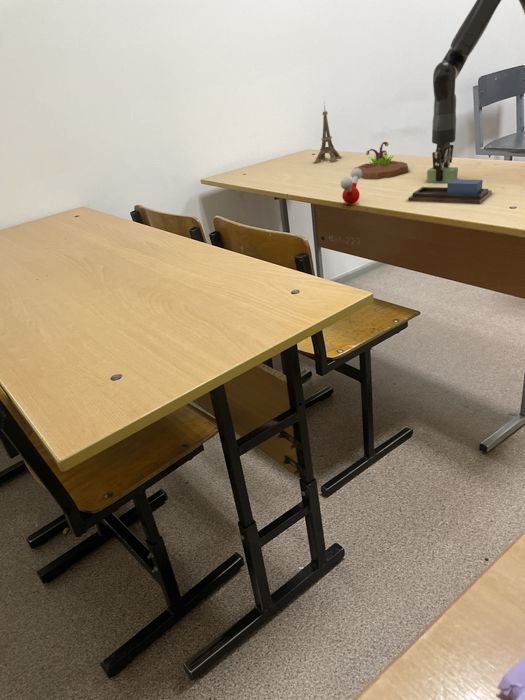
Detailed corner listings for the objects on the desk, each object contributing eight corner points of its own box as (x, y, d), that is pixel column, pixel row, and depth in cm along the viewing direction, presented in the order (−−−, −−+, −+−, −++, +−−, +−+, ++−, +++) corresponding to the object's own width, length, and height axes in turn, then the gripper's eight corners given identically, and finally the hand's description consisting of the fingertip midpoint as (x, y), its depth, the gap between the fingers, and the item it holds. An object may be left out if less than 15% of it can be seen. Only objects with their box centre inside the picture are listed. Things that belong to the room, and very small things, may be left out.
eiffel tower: (341, 157, 249) (338, 99, 236) (336, 162, 240) (332, 101, 228) (320, 158, 253) (316, 101, 240) (313, 163, 244) (309, 104, 232)
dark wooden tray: (491, 193, 164) (492, 187, 163) (479, 204, 156) (479, 197, 155) (422, 191, 177) (422, 185, 176) (408, 201, 169) (408, 194, 168)
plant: (417, 171, 203) (418, 140, 198) (372, 181, 199) (371, 149, 193) (390, 164, 220) (390, 136, 215) (348, 173, 216) (346, 144, 210)
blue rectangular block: (481, 193, 163) (482, 179, 161) (476, 197, 159) (477, 183, 157) (452, 192, 168) (453, 179, 166) (446, 196, 164) (447, 183, 163)
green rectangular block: (457, 179, 185) (457, 167, 183) (452, 182, 182) (452, 170, 180) (432, 178, 190) (432, 167, 189) (426, 182, 187) (427, 170, 185)
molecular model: (357, 210, 166) (356, 178, 161) (338, 211, 168) (337, 179, 163) (363, 196, 181) (362, 166, 176) (346, 197, 182) (345, 167, 178)
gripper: (447, 130, 171) (445, 184, 179) (462, 123, 180) (459, 174, 189) (425, 131, 175) (423, 183, 183) (440, 124, 185) (438, 174, 193)
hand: (442, 178), depth 186 cm, fingers closed on green rectangular block, 5 cm apart
